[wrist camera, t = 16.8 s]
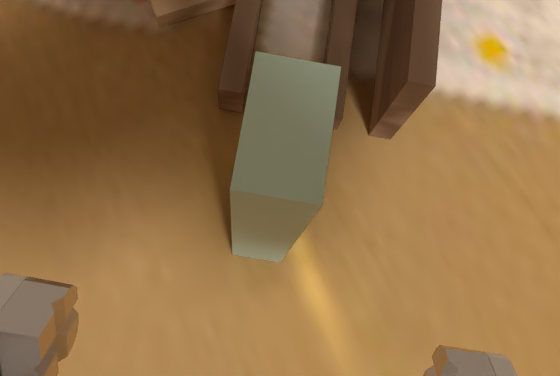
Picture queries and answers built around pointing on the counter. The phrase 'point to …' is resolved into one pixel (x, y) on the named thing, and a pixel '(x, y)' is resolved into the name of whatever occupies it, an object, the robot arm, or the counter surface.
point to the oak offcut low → (184, 9)
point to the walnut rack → (391, 55)
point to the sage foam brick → (281, 154)
